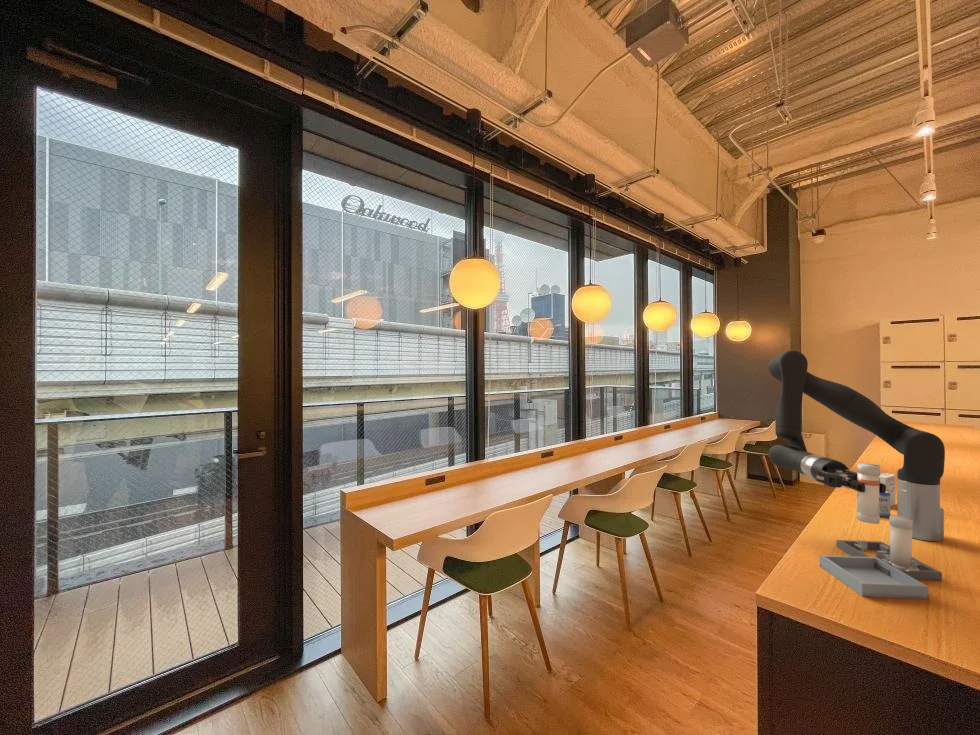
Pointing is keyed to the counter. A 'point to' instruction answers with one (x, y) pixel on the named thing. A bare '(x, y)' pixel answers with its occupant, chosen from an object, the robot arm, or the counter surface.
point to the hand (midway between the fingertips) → (873, 488)
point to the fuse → (900, 541)
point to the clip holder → (888, 558)
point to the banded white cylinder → (868, 493)
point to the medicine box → (884, 504)
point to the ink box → (889, 485)
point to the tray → (873, 577)
